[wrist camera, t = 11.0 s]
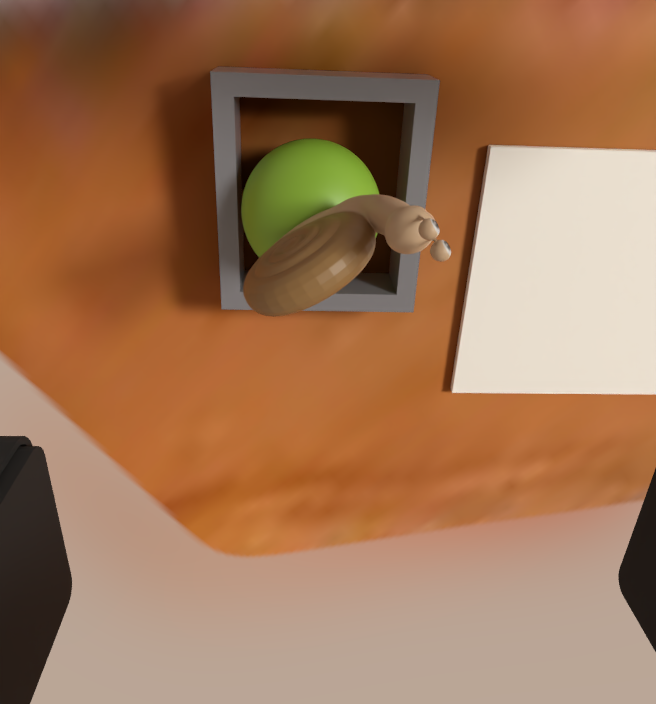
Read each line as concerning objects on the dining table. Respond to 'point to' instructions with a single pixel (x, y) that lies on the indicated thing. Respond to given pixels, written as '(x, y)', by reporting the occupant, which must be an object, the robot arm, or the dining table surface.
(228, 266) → the socket base
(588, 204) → the mat
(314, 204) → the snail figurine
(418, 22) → the dining table surface
